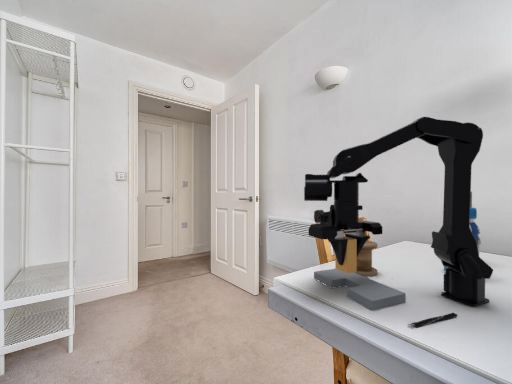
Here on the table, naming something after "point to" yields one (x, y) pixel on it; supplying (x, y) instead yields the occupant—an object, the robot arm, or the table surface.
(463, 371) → the table surface
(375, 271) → the bobbin
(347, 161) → the robot arm
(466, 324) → the table surface
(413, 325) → the black twisted rod
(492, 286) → the table surface
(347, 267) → the tan upright block
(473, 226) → the beverage bottle
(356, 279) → the board
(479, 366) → the table surface
